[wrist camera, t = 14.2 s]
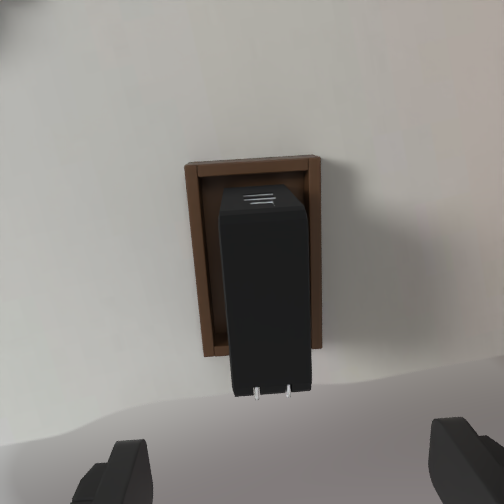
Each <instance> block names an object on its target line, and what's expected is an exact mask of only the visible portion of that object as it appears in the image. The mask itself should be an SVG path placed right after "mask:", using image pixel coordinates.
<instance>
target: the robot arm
mask: <svg viewBox="0 0 504 504" xmlns="http://www.w3.org/2000/svg"><path fill="white" fill-rule="evenodd" d="M430 437H431V438H430V449H429V460H428V465H429V466H428V467H429V473H430V477H431V481H432V483H433V486H434V488H435V490H436V492H437V493H438V495H439V497H440V499H441V501H442V502H443V504H504V447H503V446H501V445H499V444H498V443H497V442H495V441H494V440H493V439H491V438H490V437H488V436H486V435H485V436H478V435H477V433H476V432H475V431H474V429H473V428H472V427H471V426H470V424H469V423H468V422H467V421H466V419H464V418H463V417H452V418H438V419H434V420H433V421H432V425H431V436H430ZM152 501H153V482H152V475H151V469H150V463H149V457H148V451H147V445H146V441H145V440H144V439H140V440H126V441H117V442H116V443H115V445H114V447H113V450H112V452H111V455H110V458H109V460H108V463H96V464H95V465H94V466H93V467H92V468H91V469H90V470H89V471H88V473H87V474H86V475H85V476H84V477H83V478H82V479H81V480H80V483H79V485H78V487H77V489H76V492H75V494H74V496H73V498H72V503H70V504H152Z"/></svg>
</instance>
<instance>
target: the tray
mask: <svg viewBox="0 0 504 504" xmlns="http://www.w3.org/2000/svg"><path fill="white" fill-rule="evenodd" d="M184 170H185V179H186V189H187V198H188V208H189V218H190V227H191V237H192V247H193V256H194V266H195V276H196V285H197V295H198V305H199V314H200V324H201V334H202V343H203V353H204V357H211V356H228V355H229V345H228V333H227V322H226V311H225V299H224V288H223V277H222V265H221V254H220V243H219V231H218V217H219V212H220V206H221V201H222V195H223V190H224V188H232V187H247V186H262V185H276V184H284V185H285V186H286V187H287V188H288V189H289V190H290V191H291V192H292V193H293V194H294V195H295V197H296V198H297V199H298V200H299V201H300V202H301V203H302V204H303V205H304V207H305V210H306V214H307V218H308V231H309V275H310V319H311V348H312V349H321V348H322V258H321V158H320V157H318V156H315V155H300V156H284V157H268V158H252V159H236V160H219V161H203V162H189V163H188V164H186V165H185V166H184Z"/></svg>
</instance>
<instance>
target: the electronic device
mask: <svg viewBox="0 0 504 504" xmlns="http://www.w3.org/2000/svg"><path fill="white" fill-rule="evenodd" d="M218 231H219V243H220V254H221V265H222V277H223V288H224V299H225V311H226V322H227V333H228V345H229V356H230V367H231V379H232V388H233V392H234V395H235V397H238V396H249V395H250V396H251V395H254V394H253V387H254V389H255V400H259V391H258V387H260V394H261V395H263V394H275V393H285V390H286V394H287V397H288V398H289V397H291V396H290V395H291V393H290V389H291V392H300V391H310V390H311V383H312V363H311V319H310V275H309V231H308V218H307V214H306V210H305V207H304V205H303V204H302V203H301V202H300V201H299V200H298V199H297V198H296V197H295V195H294V194H293V193H292V192H291V191H290V190H289V189H288V188H287V187H286V186H285V185H284V184H276V185H262V186H247V187H232V188H224V190H223V195H222V201H221V206H220V212H219V217H218Z"/></svg>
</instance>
